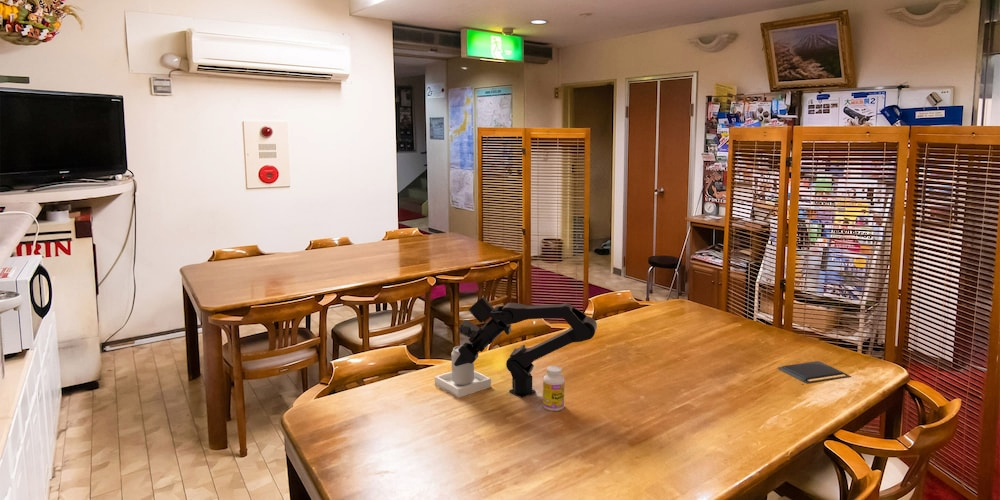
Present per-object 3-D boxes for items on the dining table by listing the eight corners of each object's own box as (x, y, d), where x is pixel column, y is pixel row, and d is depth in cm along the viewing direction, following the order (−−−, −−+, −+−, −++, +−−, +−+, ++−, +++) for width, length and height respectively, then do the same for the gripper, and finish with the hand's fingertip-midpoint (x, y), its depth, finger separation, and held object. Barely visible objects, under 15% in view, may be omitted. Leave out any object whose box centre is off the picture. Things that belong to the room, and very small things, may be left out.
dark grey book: (820, 358, 229) (853, 374, 215) (820, 363, 230) (853, 379, 215) (775, 364, 224) (805, 380, 210) (774, 369, 224) (805, 385, 210)
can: (464, 388, 203) (463, 353, 201) (447, 382, 208) (446, 348, 205) (478, 380, 209) (478, 347, 207) (462, 375, 214) (461, 342, 211)
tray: (490, 386, 208) (490, 378, 207) (458, 397, 199) (458, 389, 199) (466, 374, 218) (466, 366, 218) (434, 384, 210) (434, 376, 209)
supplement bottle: (550, 413, 188) (550, 374, 186) (538, 405, 194) (539, 366, 192) (568, 409, 191) (569, 370, 189) (556, 400, 197) (557, 363, 195)
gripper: (481, 306, 212) (451, 334, 217) (463, 322, 194) (432, 353, 199) (503, 330, 211) (473, 357, 216) (488, 348, 193) (455, 378, 198)
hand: (458, 360), depth 207 cm, fingers open, 8 cm apart
